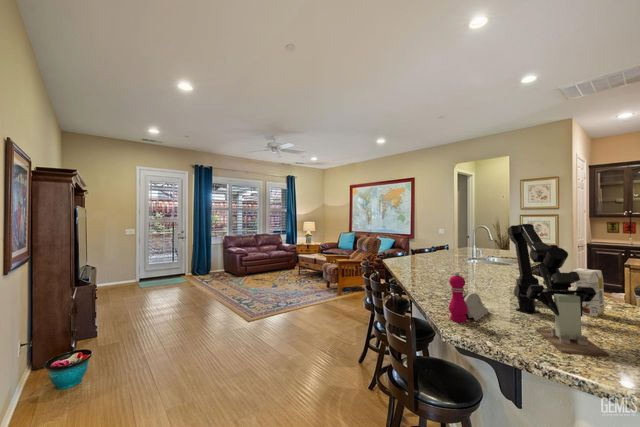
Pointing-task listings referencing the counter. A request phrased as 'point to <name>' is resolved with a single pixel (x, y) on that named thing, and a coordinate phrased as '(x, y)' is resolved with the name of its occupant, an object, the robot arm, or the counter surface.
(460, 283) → the pepper mill
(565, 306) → the door
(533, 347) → the counter surface
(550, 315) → the counter surface
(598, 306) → the juice carton
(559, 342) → the plate
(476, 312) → the grey rounded slab
